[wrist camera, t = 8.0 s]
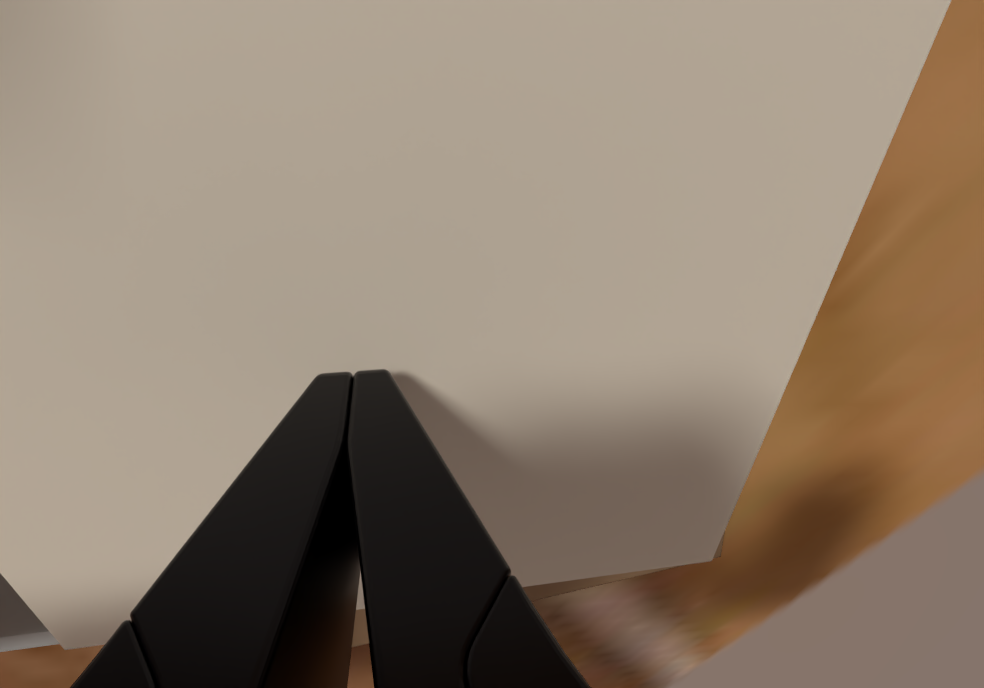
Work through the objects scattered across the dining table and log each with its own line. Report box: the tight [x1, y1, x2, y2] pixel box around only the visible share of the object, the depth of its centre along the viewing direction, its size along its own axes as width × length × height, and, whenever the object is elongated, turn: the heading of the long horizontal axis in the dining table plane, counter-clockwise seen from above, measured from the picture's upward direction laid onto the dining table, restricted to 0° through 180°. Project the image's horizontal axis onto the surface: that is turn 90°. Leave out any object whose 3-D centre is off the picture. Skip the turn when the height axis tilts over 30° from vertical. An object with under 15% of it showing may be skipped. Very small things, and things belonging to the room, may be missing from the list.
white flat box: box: [0, 0, 951, 650], centre depth 10 cm, size 12×11×4 cm
